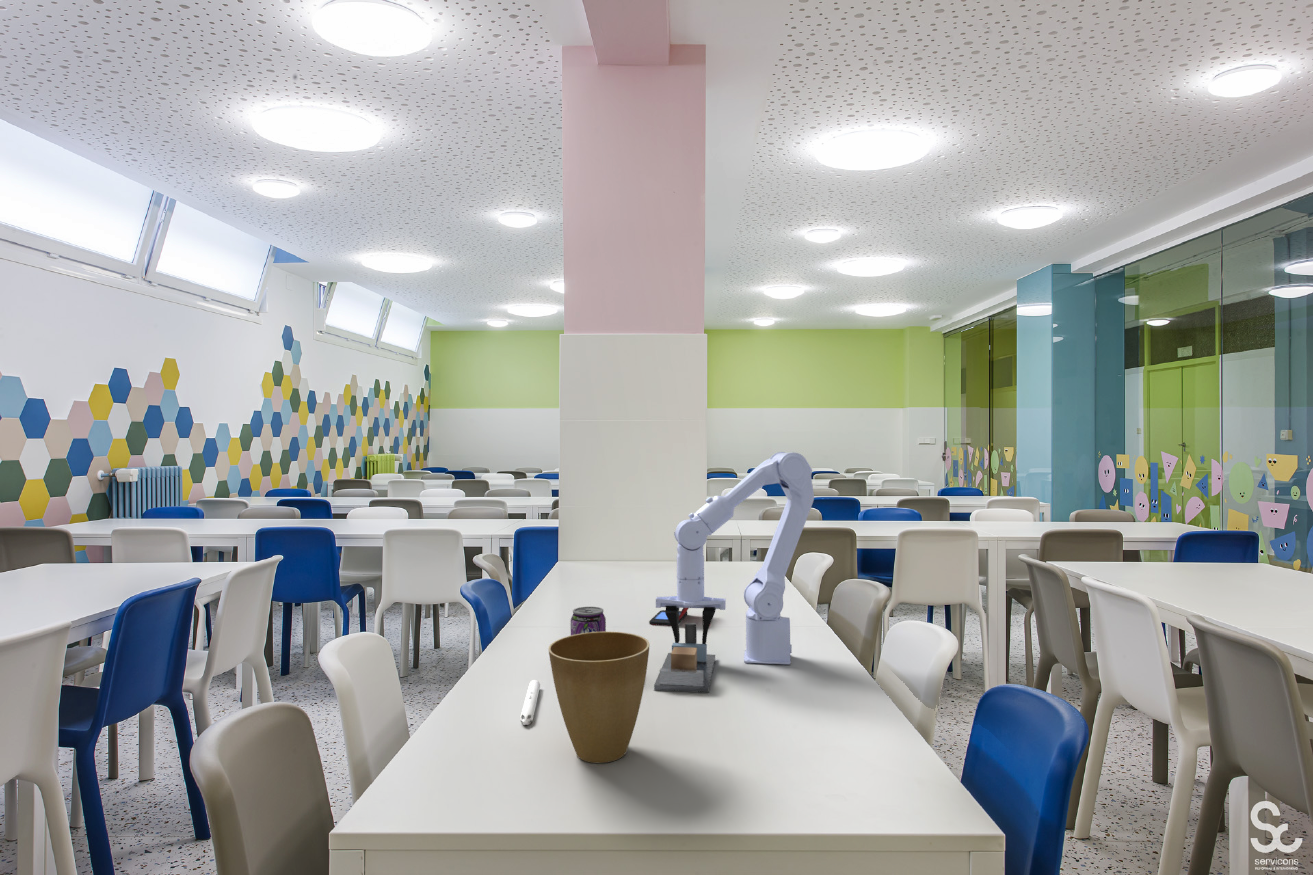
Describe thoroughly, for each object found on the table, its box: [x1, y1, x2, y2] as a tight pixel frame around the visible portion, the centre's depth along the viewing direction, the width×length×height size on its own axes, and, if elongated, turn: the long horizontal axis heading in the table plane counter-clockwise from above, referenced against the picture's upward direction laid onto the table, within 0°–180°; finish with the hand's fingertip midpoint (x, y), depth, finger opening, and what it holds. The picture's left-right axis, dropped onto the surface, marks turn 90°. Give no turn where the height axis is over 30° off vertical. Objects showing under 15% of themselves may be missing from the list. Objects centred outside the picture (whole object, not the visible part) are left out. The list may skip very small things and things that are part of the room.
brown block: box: [670, 647, 697, 670], centre depth 134 cm, size 4×4×5 cm
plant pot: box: [547, 631, 651, 764], centre depth 104 cm, size 15×15×16 cm
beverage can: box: [570, 606, 607, 636], centre depth 142 cm, size 7×7×12 cm
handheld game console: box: [648, 608, 690, 627], centre depth 182 cm, size 12×11×7 cm
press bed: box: [653, 652, 716, 694], centre depth 139 cm, size 20×10×4 cm, turn 171°
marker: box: [519, 679, 541, 726], centre depth 122 cm, size 18×2×2 cm, turn 5°
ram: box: [671, 622, 708, 662], centre depth 145 cm, size 6×7×6 cm
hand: (690, 642), depth 147 cm, fingers open, 5 cm apart
